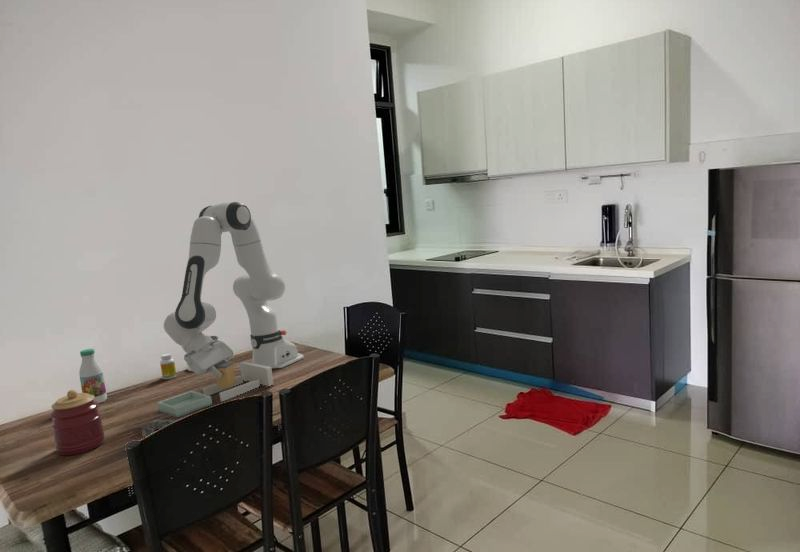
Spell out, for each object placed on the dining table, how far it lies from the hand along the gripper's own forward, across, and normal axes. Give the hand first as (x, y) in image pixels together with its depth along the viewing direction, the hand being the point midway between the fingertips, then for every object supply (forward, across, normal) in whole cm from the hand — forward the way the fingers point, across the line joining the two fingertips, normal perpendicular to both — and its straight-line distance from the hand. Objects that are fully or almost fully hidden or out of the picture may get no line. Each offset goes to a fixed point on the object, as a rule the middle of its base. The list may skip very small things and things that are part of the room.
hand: (226, 373), depth 206 cm
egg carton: (+4, -35, +7) cm, 36 cm away
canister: (-10, -46, +21) cm, 51 cm away
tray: (-1, -14, +11) cm, 18 cm away
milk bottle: (-31, -10, +42) cm, 53 cm away
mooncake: (-18, +32, +30) cm, 48 cm away
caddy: (+3, 0, +4) cm, 5 cm away
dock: (+6, +3, +5) cm, 8 cm away
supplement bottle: (-23, +18, +34) cm, 45 cm away
